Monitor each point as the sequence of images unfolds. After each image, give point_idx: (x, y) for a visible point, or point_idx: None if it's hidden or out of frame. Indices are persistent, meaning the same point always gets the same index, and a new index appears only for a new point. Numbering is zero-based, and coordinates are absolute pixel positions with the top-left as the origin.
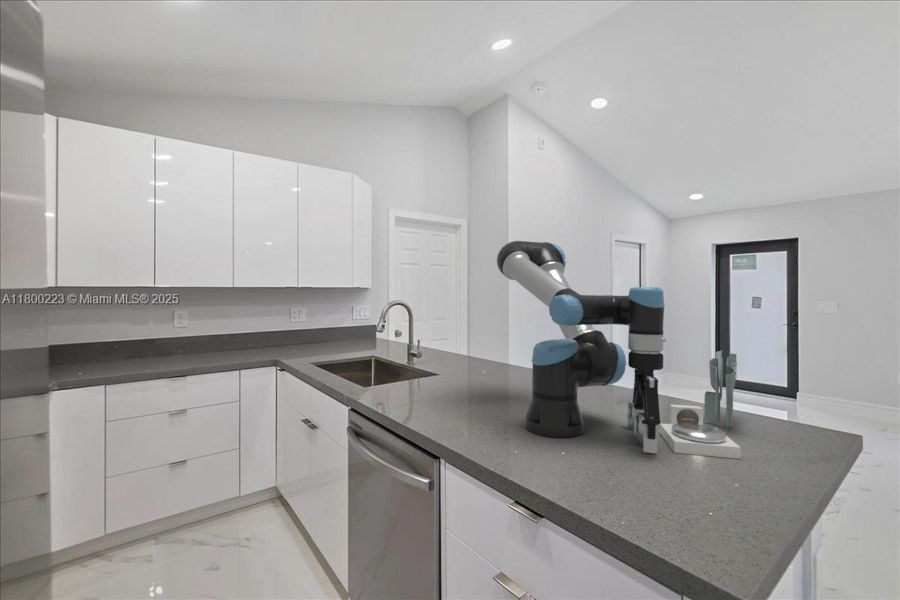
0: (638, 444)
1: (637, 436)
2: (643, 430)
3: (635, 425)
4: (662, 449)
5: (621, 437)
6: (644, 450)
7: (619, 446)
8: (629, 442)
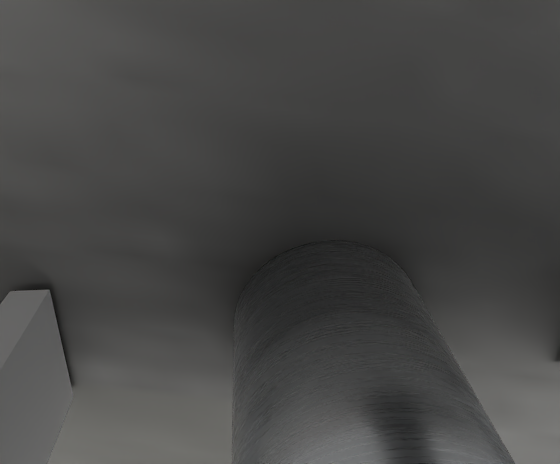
0: (268, 268)
1: (289, 311)
2: (235, 451)
3: (397, 389)
4: (219, 443)
5: (528, 104)
6: (5, 306)
7: (140, 27)
8: (347, 179)
